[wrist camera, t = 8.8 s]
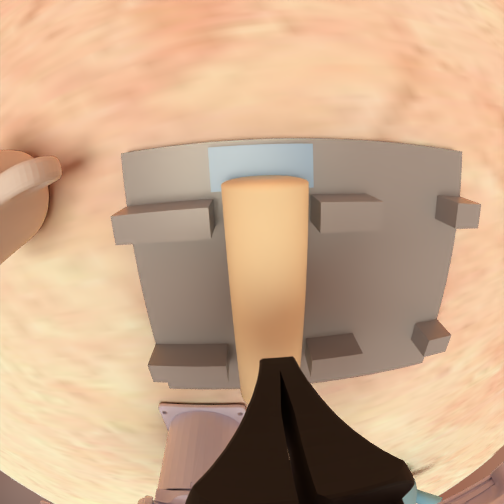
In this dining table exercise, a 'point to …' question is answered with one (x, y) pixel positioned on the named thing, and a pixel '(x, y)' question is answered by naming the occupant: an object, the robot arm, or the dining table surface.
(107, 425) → the dining table surface
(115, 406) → the dining table surface
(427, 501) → the teapot
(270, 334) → the tan tapered cylinder
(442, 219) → the board
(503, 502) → the robot arm
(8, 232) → the cup
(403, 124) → the dining table surface
